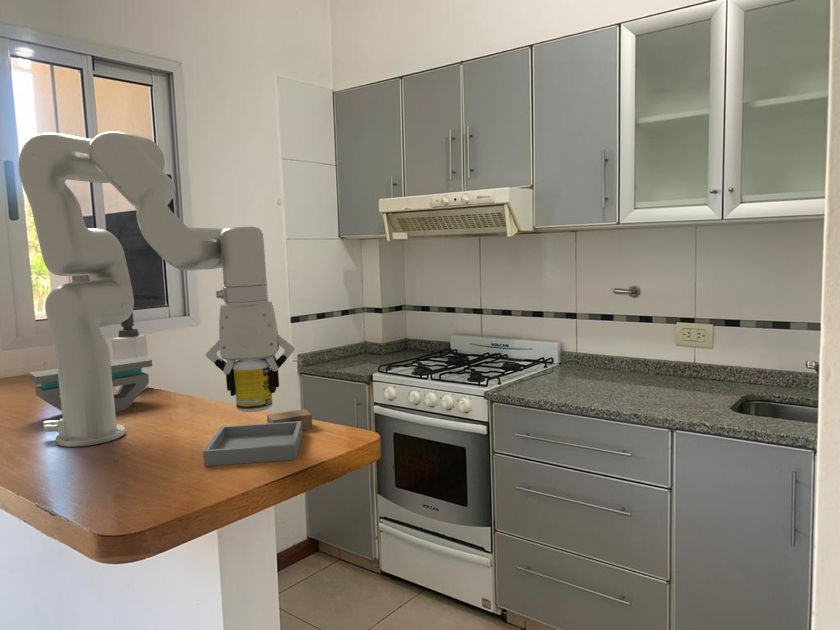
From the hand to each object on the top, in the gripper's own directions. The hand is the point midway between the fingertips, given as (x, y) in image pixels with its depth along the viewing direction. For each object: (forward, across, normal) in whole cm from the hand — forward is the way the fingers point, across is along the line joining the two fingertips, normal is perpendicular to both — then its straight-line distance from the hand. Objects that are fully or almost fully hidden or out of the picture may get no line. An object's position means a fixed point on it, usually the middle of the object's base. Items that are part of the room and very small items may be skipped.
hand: (253, 392), depth 118 cm
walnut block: (+11, +5, +12) cm, 17 cm away
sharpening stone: (+10, -43, +39) cm, 59 cm away
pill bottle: (+3, 0, 0) cm, 3 cm away
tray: (+11, 0, 0) cm, 11 cm away
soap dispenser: (+10, -42, +61) cm, 75 cm away
